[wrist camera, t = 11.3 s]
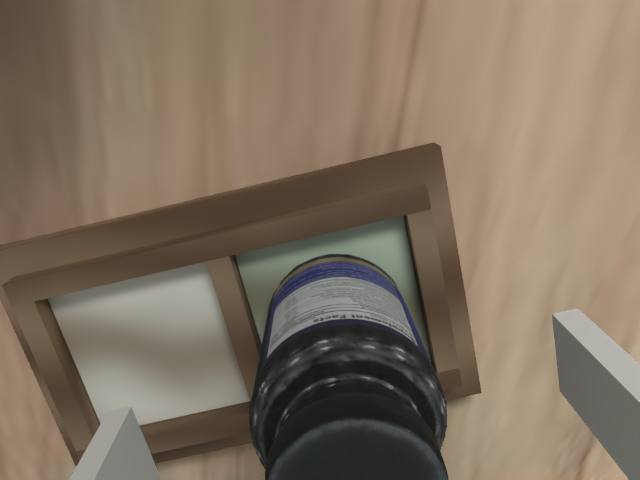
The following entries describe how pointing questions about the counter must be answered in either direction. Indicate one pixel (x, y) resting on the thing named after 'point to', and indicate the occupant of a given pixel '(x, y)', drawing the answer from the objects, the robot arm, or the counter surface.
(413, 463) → the pill bottle
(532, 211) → the counter surface
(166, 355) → the divided wooden tray
